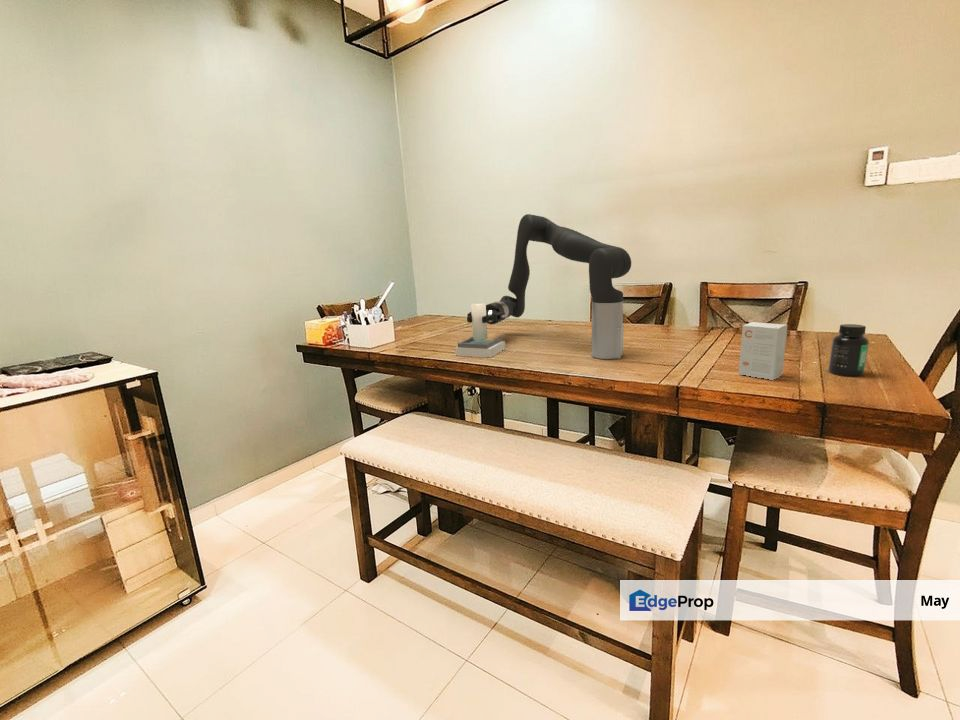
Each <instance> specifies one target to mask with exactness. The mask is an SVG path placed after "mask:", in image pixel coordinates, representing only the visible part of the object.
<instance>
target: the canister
mask: <svg viewBox="0 0 960 720" xmlns="http://www.w3.org/2000/svg"><path fill="white" fill-rule="evenodd" d="M486 305H487V303H483V302H482V303H481V302H479V303H478V302H475V303H471V304H470V308H471V311H470V312H471V313H472V322H471V324H472V325H471V327H472V337H473V340H488V323H487V322H486V323H482V317H483V316H486Z"/></svg>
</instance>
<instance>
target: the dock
mask: <svg viewBox="0 0 960 720" xmlns="http://www.w3.org/2000/svg"><path fill="white" fill-rule="evenodd" d="M454 349H455V356H456V355H457V356H456V357H469V356H472V358H473V357H474V358H486V357H490V358H489V359H491V358H492V356H493V357H495V356H496V355H498V354H500V353H502V352H503V351H505V350H506V341H505V340H503V337H502V336H498V337H496V338H495V339H493V340H490V339H486V340H473V336H470V337H469V338H466V339H464V340H463V341H460V342H457V346H455V348H454ZM504 349H505V350H504ZM502 350H503V351H502ZM499 352H500V353H499ZM497 353H498V354H497Z"/></svg>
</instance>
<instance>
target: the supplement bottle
mask: <svg viewBox="0 0 960 720" xmlns="http://www.w3.org/2000/svg"><path fill="white" fill-rule="evenodd" d="M866 328H867V327H866V325H863V324H856V323H855V324H854V323H848V324H847V323H846V324H845V323H844V324H840V326H839V330H838V333H839V334H837V335H836V336H834V337H833V339H832V342H831V350H830V357H829V364H828V371H829V372H831V374H832V373H833V374H832V375H836V374H837V376H840V375H841V376H842V377H849V376H851V377H850V378H854V377H856V378H857V377H861V376H863V375H864V373H865V368H866V363H867V356H868V352H869V351H868V350H869V346H870V345H869V344H870V342H869V341H870V340H869V339H868V337H866V336H864V335H865V334H866ZM841 376H840V377H841Z"/></svg>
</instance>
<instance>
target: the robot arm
mask: <svg viewBox="0 0 960 720" xmlns="http://www.w3.org/2000/svg"><path fill="white" fill-rule="evenodd" d="M516 233H517V234H516V241H515V242H516V243H515V251H514V260H513V267H512V269H511V274H510V279H509V281H508V285H507V286H508V287H507V288H508V291H509V292H511V293H512V294H513V295H514V296H515V297H512V296H510V295H503V296H502V297H501V298H500V300H499V301H494V302H491V303H488V304H487V303H486V316H483V317H482V323H486V322H487V325H488V324H489V325H495V324H498V323H501V322H503V321H504V320H506V319H508V318H509V317H511V316H512V317H514V318H520V317H522V315H523V314H524V312H525V309H526V290H527V285H528V283H529V280H530V271H531V270H530V264H529V259H528V255H527V251H528V250H527V249H528V245H529V242H530V241H531V242H536V243H544V244H547V245H551V248H552V250H553V251H554V252H555V253H556V254H557V255H559V256H561V257H564V258H565V259H566V260H570V261H574V262H577V263H584V264H588V279H589V292H590V295H591V350H590V351H591V357H592V358H595V359H599V360H600V359H601V360H602V359H603V360H612V359H614V360H615V359H621V358H622V356H623V355H624V333H625V331H624V330H625V329H624V328H625V327H624V324H623V323H624V321H623V317H624V293H623V291H621V290H620V289H617V288H615V286H613V279H618V278H619V279H620V278H621V277H624V276H625V275H627V274H628V273H629V272H630V270H631V269H632V259H631V256H630V254H629V252H628V251H627V250H626V249H624V248H622V247H619V246H616V245H611V244H607V243H603V242H600V241H599V240H597V239H594V238H592V237H590V236H588V235H585V234H583V233H581V232H579V231H577V230H574V229H572V228H568V227H566V226H560V225H559V224H556V223H555V222H553V221H552V220H551V219H548V218H547V217H545V216H540V215H535V214H529V213H526V214H524V215H523V216H522V217H521V219H520V220H519V223H518V227H517V231H516ZM466 322H467V323H468V324H472V313H471V311H470V312H468V313H467V317H466Z"/></svg>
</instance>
